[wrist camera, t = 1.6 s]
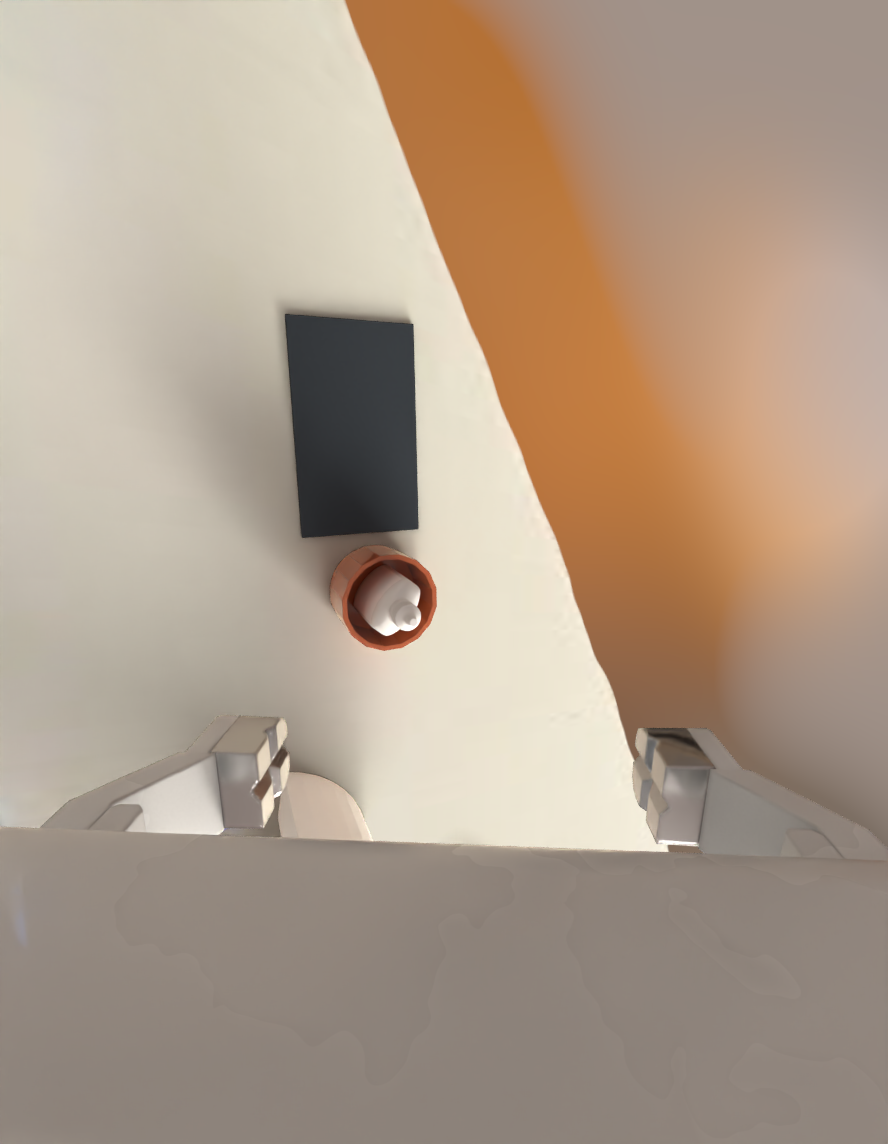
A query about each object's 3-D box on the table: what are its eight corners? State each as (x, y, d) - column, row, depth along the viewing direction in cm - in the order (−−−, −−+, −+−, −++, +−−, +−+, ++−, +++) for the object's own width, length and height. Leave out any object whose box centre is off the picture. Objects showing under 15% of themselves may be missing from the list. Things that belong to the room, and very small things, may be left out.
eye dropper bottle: (341, 583, 54) (374, 616, 43) (390, 559, 55) (433, 585, 45) (358, 619, 55) (394, 660, 45) (406, 595, 57) (451, 628, 46)
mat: (284, 314, 47) (285, 313, 47) (412, 325, 52) (413, 324, 51) (301, 537, 52) (302, 537, 51) (417, 528, 56) (418, 529, 56)
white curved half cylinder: (252, 947, 59) (275, 772, 56) (352, 928, 63) (379, 766, 60) (296, 1517, 27) (355, 1189, 24) (488, 1396, 32) (558, 1108, 29)
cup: (326, 548, 53) (339, 559, 48) (414, 541, 56) (435, 551, 51) (332, 637, 55) (345, 657, 50) (416, 624, 59) (437, 642, 53)
